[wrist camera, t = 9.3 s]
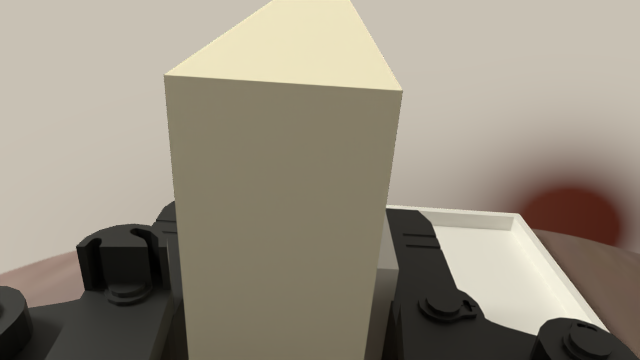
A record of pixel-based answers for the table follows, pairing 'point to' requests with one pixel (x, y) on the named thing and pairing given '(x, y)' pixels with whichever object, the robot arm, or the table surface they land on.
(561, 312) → the tray
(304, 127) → the cream rectangular board
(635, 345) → the table surface
